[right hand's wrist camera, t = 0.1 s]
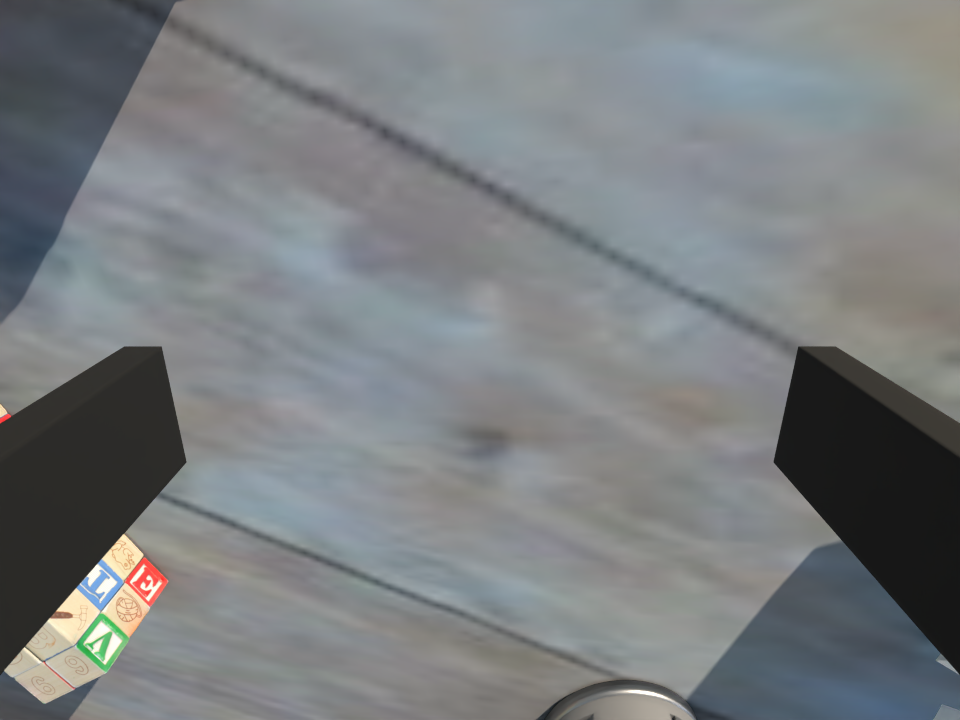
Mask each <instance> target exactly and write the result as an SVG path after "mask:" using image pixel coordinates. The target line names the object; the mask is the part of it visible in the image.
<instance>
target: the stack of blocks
mask: <svg viewBox="0 0 960 720" xmlns="http://www.w3.org/2000/svg"><path fill="white" fill-rule="evenodd" d="M10 417H11V416H10V415H9V414H8V413H7V412H6V410H5V409H4V408H3V407H2V406H1V404H0V423H2V422H3V421H5V420H6V419H8V418H10ZM143 556H144V555H143V553H142V552H141V551H140V550H139V549H138V548H137V547H136V546H135V545H134V544H133V543H132V542H131V541H130V540H129V539H128V538H127V537H126V536H125V535H124V534H123V535H122V536H121V538H120V539H119V540H118V541H117V542H116V543H115V544H114V546H113V547H112V548H111V549H110V550H109V551H108V552H107V554H106V555H105V556H104V557H103V558H102V559H101V560H100V562H99V563H98V564H97V565H96V566H95V567H94V568H93V570H92V571H91V572H90V573H89V574H88V575H87V576H86V578H85V579H84V580H83V581H82V582H81V583H80V584H79V586H78V587H77V588H76V589H75V590H74V591H73V592H72V594H71V595H70V596H69V597H68V598H67V599H66V600H65V602H64V603H63V604H62V605H61V606H60V607H59V608H58V610H57V611H56V612H55V613H54V614H53V615H52V616H51V618H50V619H49V620H48V621H47V622H46V623H45V624H44V626H43V627H42V628H41V629H40V630H39V631H38V632H37V634H36V635H35V636H34V637H33V638H32V639H31V640H30V642H29V643H28V644H27V645H26V646H25V647H24V648H23V650H22V651H21V652H20V653H19V654H18V655H17V656H16V658H15V659H14V660H13V661H12V662H11V663H10V664H9V666H8V667H7V668H6V669H5V670H4V672H6V673H7V674H8V675H9V676H11V677H13V678H15V680H16V681H17V682H19V683H20V684H21V685H22V686H23V687H24V688H26V689H27V690H28V691H29V692H30V693H31V694H32V695H34V696H35V697H36V698H38V699H39V700H40V701H41V702H42V703H44V704H46V703H48V702H50V701H52V700H54V699H56V698H58V697H60V696H62V695H64V694H67V693H69V692H71V691H73V690H74V689H75V688H76V687H79V686H81V685H83V684H85V683H87V682H90V681H91V680H93V679H96V678H98V677H99V676H102V675H104V674H106V673H107V671H108V670H109V669H110V667H111V666H112V664H113V663H114V662H115V660H116V659H117V657H118V656H119V654H120V653H121V651H122V650H123V648H124V647H125V645H126V644H127V643H128V641H129V637H130V636H131V635H132V634H133V632H134V631H135V630H136V628H137V627H138V625H139V624H140V623H141V621H142V620H143V618H144V617H145V615H146V614H147V613H148V611H149V610H150V607H151V605H152V604H153V603H154V601H155V600H156V599H157V597H158V596H159V595H160V593H161V592H162V590H163V589H164V588H165V586H166V585H167V583H168V580H167V579H166V578H165V577H164V576H163V575H162V574H161V573H160V572H159V571H158V570H157V569H156V568H155V567H154V566H153V565H152V564H151V563H150V562H149V561H148V560H147V559H146V558H144V557H143Z"/></svg>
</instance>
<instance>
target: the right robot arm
mask: <svg viewBox="0 0 960 720" xmlns="http://www.w3.org/2000/svg"><path fill="white" fill-rule="evenodd" d="M185 463H186V458H185V453H184V448H183V444H182V439H181V435H180V430H179V425H178V421H177V416H176V411H175V407H174V402H173V397H172V393H171V388H170V383H169V379H168V374H167V370H166V365H165V360H164V356H163V351H162V347H123V348H121V349H120V350H118V351H116V352H115V353H113V354H112V355H110V356H108V357H107V358H105V359H104V360H102V361H100V362H99V363H97V364H95V365H94V366H92V367H91V368H89V369H87V370H86V371H84V372H82V373H81V374H79V375H78V376H76V377H74V378H73V379H71V380H70V381H68V382H66V383H65V384H63V385H61V386H60V387H58V388H57V389H55V390H53V391H52V392H50V393H49V394H47V395H45V396H44V397H42V398H40V399H39V400H37V401H36V402H34V403H32V404H31V405H29V406H27V407H26V408H24V409H23V410H21V411H19V412H18V413H16V414H15V415H13V416H11V417H10V418H8V419H6V420H5V421H3V422H2V423H0V675H1V674H2V672H3V671H4V670H5V669H6V668H7V667H8V666H9V664H10V663H11V662H12V661H13V660H14V659H15V658H16V656H17V655H18V654H19V653H20V652H21V651H22V650H23V648H24V647H25V646H26V645H27V644H28V643H29V642H30V640H31V639H32V638H33V637H34V636H35V635H36V634H37V632H38V631H39V630H40V629H41V628H42V627H43V626H44V624H45V623H46V622H47V621H48V620H49V619H50V618H51V616H52V615H53V614H54V613H55V612H56V611H57V610H58V608H59V607H60V606H61V605H62V604H63V603H64V602H65V600H66V599H67V598H68V597H69V596H70V595H71V594H72V592H73V591H74V590H75V589H76V588H77V587H78V586H79V584H80V583H81V582H82V581H83V580H84V579H85V578H86V576H87V575H88V574H89V573H90V572H91V571H92V570H93V568H94V567H95V566H96V565H97V564H98V563H99V562H100V560H101V559H102V558H103V557H104V556H105V555H106V554H107V552H108V551H109V550H110V549H111V548H112V547H113V546H114V544H115V543H116V542H117V541H118V540H119V539H120V538H121V536H122V535H123V534H124V533H125V532H126V531H127V530H128V528H129V527H130V526H131V525H132V524H133V523H134V522H135V520H136V519H137V518H138V517H139V516H140V515H141V514H142V512H143V511H144V510H145V509H146V508H147V507H148V506H149V504H150V503H151V502H152V501H153V500H154V499H155V498H156V496H157V495H158V494H159V493H160V492H161V491H162V490H163V488H164V487H165V486H166V485H167V484H168V483H169V482H170V480H171V479H172V478H173V477H174V476H175V475H176V474H177V472H178V471H179V470H180V469H181V468H182V467H183V466H184V464H185ZM774 463H775V464H776V466H777V467H778V468H779V469H780V470H781V471H782V472H783V474H784V475H785V476H786V477H787V478H788V479H789V480H790V482H791V483H792V484H793V485H794V486H795V487H796V488H797V490H798V491H799V492H800V493H801V494H802V495H803V496H804V498H805V499H806V500H807V501H808V502H809V503H810V504H811V506H812V507H813V508H814V509H815V510H816V511H817V512H818V514H819V515H820V516H821V517H822V518H823V519H824V520H825V522H826V523H827V524H828V525H829V526H830V527H831V528H832V530H833V531H834V532H835V533H836V534H837V535H838V536H839V538H840V539H841V540H842V541H843V542H844V543H845V544H846V546H847V547H848V548H849V549H850V550H851V551H852V552H853V554H854V555H855V556H856V557H857V558H858V559H859V560H860V562H861V563H862V564H863V565H864V566H865V567H866V568H867V570H868V571H869V572H870V573H871V574H872V575H873V576H874V578H875V579H876V580H877V581H878V582H879V583H880V584H881V586H882V587H883V588H884V589H885V590H886V591H887V592H888V594H889V595H890V596H891V597H892V598H893V599H894V600H895V602H896V603H897V604H898V605H899V606H900V607H901V608H902V610H903V611H904V612H905V613H906V614H907V615H908V616H909V618H910V619H911V620H912V621H913V622H914V623H915V624H916V626H917V627H918V628H919V629H920V630H921V631H922V632H923V634H924V635H925V636H926V637H927V638H928V639H929V640H930V642H931V643H932V644H933V645H934V646H935V647H936V648H937V650H938V651H939V652H940V653H941V654H942V655H943V656H944V658H945V659H946V660H947V661H948V662H949V663H950V664H951V666H952V667H953V668H954V669H955V670H956V671H957V672H958V674H959V675H960V423H958V422H957V421H955V420H954V419H952V418H950V417H949V416H947V415H945V414H944V413H942V412H941V411H939V410H937V409H936V408H934V407H933V406H931V405H929V404H928V403H926V402H924V401H923V400H921V399H920V398H918V397H916V396H915V395H913V394H911V393H910V392H908V391H907V390H905V389H903V388H902V387H900V386H899V385H897V384H895V383H894V382H892V381H890V380H889V379H887V378H886V377H884V376H882V375H881V374H879V373H878V372H876V371H874V370H873V369H871V368H869V367H868V366H866V365H865V364H863V363H861V362H860V361H858V360H856V359H855V358H853V357H852V356H850V355H848V354H847V353H845V352H844V351H842V350H840V349H839V348H837V347H798V351H797V356H796V360H795V365H794V370H793V374H792V379H791V383H790V388H789V393H788V397H787V402H786V407H785V411H784V416H783V421H782V425H781V430H780V435H779V439H778V444H777V448H776V453H775V458H774ZM545 720H697V718H696V716H695V713H694V711H693V710H692V708H691V707H690V705H689V704H688V703H687V702H686V701H685V700H684V699H683V698H682V697H680V696H679V695H678V694H676V693H674V692H673V691H671V690H669V689H667V688H665V687H662V686H659V685H656V684H653V683H649V682H643V681H635V680H617V681H608V682H603V683H598V684H594V685H591V686H588V687H585V688H583V689H581V690H578V691H576V692H574V693H572V694H571V695H569V696H567V697H566V698H564V699H563V700H562V701H560V702H559V703H558V704H557V705H556V706H555V707H554V708H553V709H552V710H551V711H550V713H549V714H548V715H547V717H546V719H545Z"/></svg>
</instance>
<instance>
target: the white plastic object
mask: <svg viewBox="0 0 960 720" xmlns="http://www.w3.org/2000/svg"><path fill="white" fill-rule="evenodd" d="M936 661H937V662H939V663H941V664H942V665H944V666H946V667H947V668H949V669H951V670H952V671H954V672H955V673H957V674H958V672H957V671H956V670H955V669H954V668H953V667H952V666H951V664H950V663H949V662H948V661H947V660H946V659H945V658H944V656H943V655H942V654H940V655H939V656H938V658H937V659H936ZM933 720H960V710H957V709H954V708H952V707H949V706H946V705H943V704H942V705H941V707H940V709H939V711H938V712H937V714H936V716H935V718H934V719H933Z"/></svg>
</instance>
